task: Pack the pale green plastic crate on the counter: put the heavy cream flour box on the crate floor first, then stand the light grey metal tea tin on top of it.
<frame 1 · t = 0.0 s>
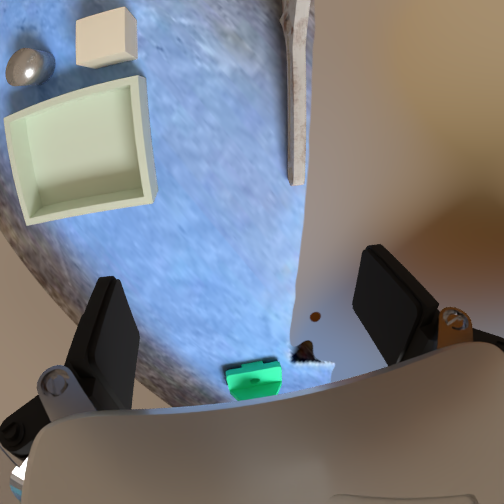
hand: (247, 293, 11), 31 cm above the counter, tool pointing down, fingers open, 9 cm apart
crate: (84, 148, 34), on the counter
wrench: (289, 82, 35), on the counter
flour box: (115, 44, 27), on the counter
camera mount: (252, 371, 63), on the counter
tea tin: (40, 68, 26), on the counter
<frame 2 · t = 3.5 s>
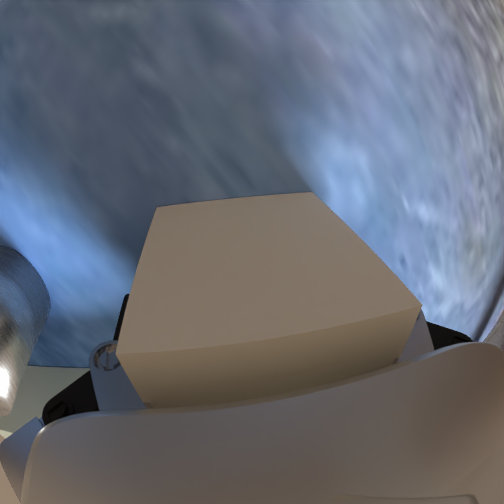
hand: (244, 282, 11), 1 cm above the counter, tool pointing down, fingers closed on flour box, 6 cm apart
crate: (174, 427, 19), on the counter
wrench: (492, 302, 20), on the counter
flour box: (240, 265, 12), on the counter, touching gripper
tea tin: (10, 289, 11), on the counter
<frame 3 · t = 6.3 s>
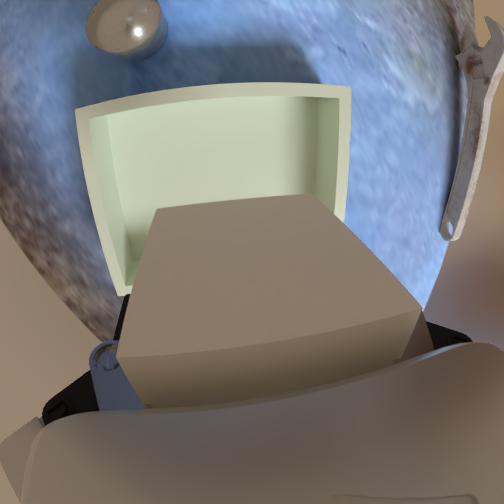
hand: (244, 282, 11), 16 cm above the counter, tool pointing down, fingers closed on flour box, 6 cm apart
crate: (217, 176, 25), on the counter
wrench: (456, 128, 27), on the counter
flour box: (240, 267, 12), point 15 cm above the counter, touching gripper
tea tin: (138, 34, 18), on the counter
when the fingers open (3 cm above the counter, at t = 9.0 s): flour box drops 1 cm, resting on crate.
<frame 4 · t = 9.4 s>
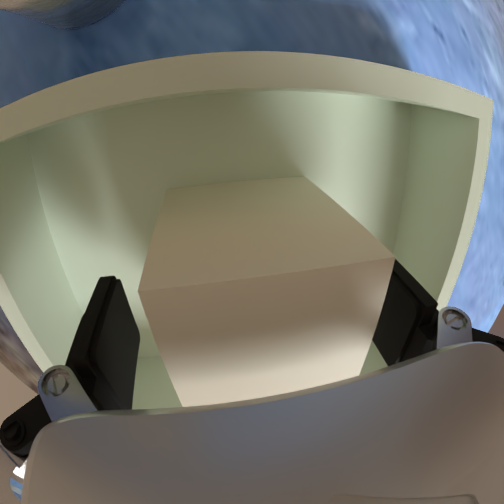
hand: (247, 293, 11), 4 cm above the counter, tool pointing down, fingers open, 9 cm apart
crate: (233, 239, 14), on the counter
flour box: (241, 243, 14), point 1 cm above the counter, touching crate
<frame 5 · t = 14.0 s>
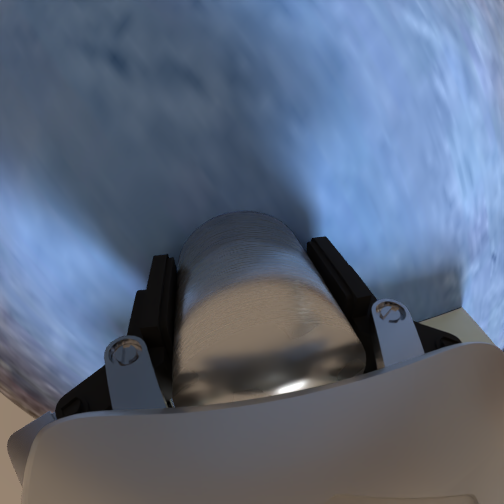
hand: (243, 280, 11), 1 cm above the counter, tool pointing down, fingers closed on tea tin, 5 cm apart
crate: (328, 407, 20), on the counter
tea tin: (241, 270, 12), on the counter, touching gripper
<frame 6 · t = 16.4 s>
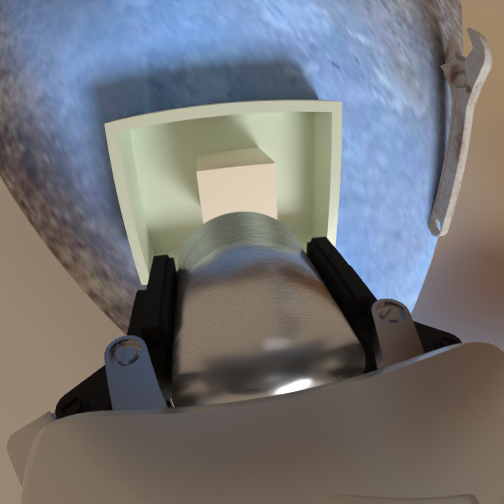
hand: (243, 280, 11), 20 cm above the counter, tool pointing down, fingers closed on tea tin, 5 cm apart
crate: (227, 179, 29), on the counter
wrench: (442, 133, 30), on the counter
flour box: (230, 179, 29), point 1 cm above the counter, touching crate
tea tin: (240, 270, 12), point 19 cm above the counter, touching gripper
when the fingers open (9 cm above the counter, at t = 18.9 s): tea tin stays where it is, resting on flour box.
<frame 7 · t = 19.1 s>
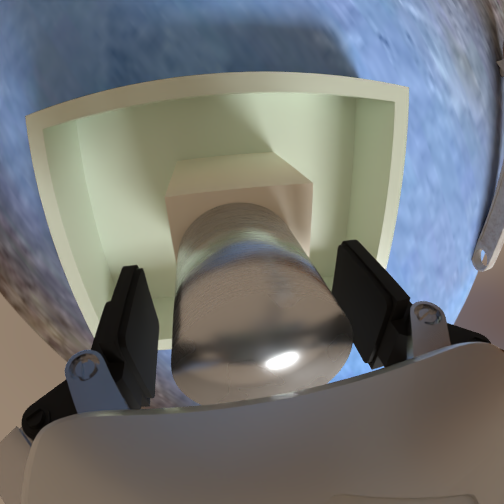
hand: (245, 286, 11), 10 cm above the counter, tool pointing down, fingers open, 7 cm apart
crate: (223, 199, 20), on the counter
wrench: (496, 144, 21), on the counter
flour box: (228, 200, 19), point 1 cm above the counter, touching crate, tea tin
tea tin: (237, 258, 13), point 8 cm above the counter, touching flour box
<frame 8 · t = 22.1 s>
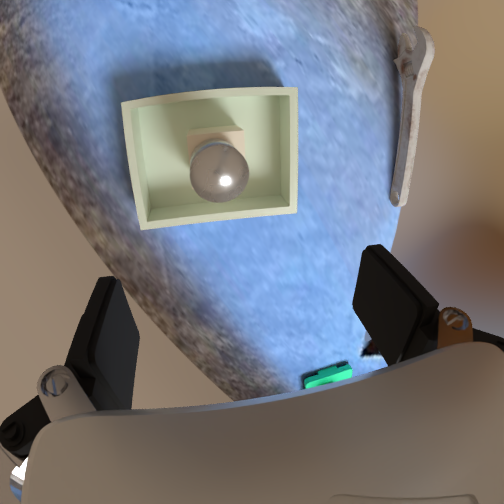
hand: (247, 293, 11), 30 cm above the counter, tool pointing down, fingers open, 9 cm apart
crate: (212, 149, 37), on the counter
wrench: (397, 117, 38), on the counter
flour box: (214, 149, 36), point 1 cm above the counter, touching crate, tea tin
camera mount: (325, 375, 67), on the counter
tea tin: (214, 161, 30), point 8 cm above the counter, touching flour box
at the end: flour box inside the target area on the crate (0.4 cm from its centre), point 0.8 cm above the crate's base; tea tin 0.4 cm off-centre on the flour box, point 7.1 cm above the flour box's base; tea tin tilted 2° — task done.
